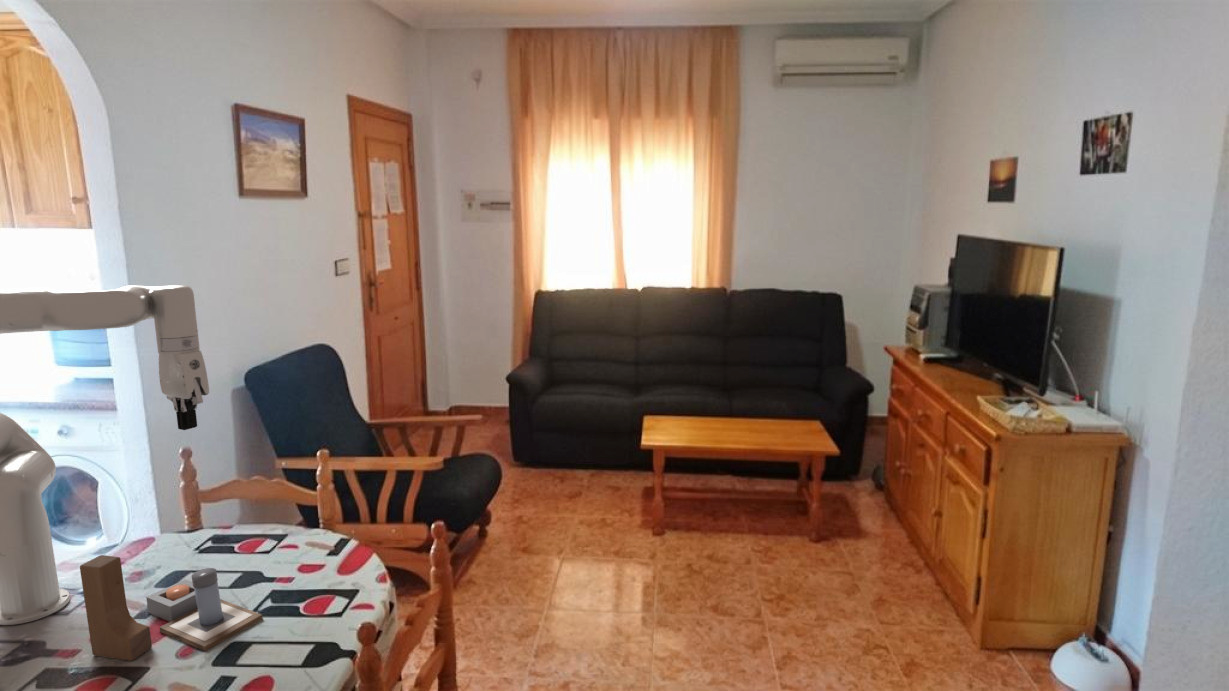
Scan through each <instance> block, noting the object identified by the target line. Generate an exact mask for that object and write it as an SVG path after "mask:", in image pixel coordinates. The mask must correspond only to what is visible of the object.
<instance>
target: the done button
mask: <svg viewBox="0 0 1229 691" xmlns="http://www.w3.org/2000/svg"><path fill="white" fill-rule="evenodd" d="M187 594H190V592H189V586H188V585H177V586H173V587H171V588H169V589H168V590H167V591H166V595H167V599H169V600H171V601H175V600H177V599H179V598H181V597H183V596H185V595H187Z"/></svg>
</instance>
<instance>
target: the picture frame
mask: <svg viewBox="0 0 1229 691" xmlns="http://www.w3.org/2000/svg"><path fill="white" fill-rule="evenodd" d="M220 601H221V607H222V613H223V618H222V619H221V620H220V621H219V622H217V623H215V624H212V625H207V626H203V625H201V624H200V620H199V614H198V608H197V609H195V610H193V611H191V612H189V613H187V614H185V615H183V616H181V617H179V618H177V619H175V620H173V621H171V622H169V621H168V622H167V623H165V624H163V625H161V626H159V633H161V634H164V635H167V636H169V637H171V638H173V639H176V640H178V641H180V642H183V643H185V644H187V645H190V646H192V647H194V648H197V649H199V650H201V651H203V652H206V651H209V650H210V649H213V648H214V647H216V646H218V645H219V644H221V643H222V642H224V641H227V640H229V639H230V638H232V637H234V636H235V635H237V634H239V633H241V632H242V631H244V630H246V629H247V628H250V627H251V626H253V625H255V624H257V623H258V622H260V621H262V620H263V618H264V617H263V614H261V613H259V612H256V611H254V610H250V609H248V608H246V607H243V606H241V605H237V604H235V603H233V602H229V601H226V600H224V599H221V598H220Z"/></svg>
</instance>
